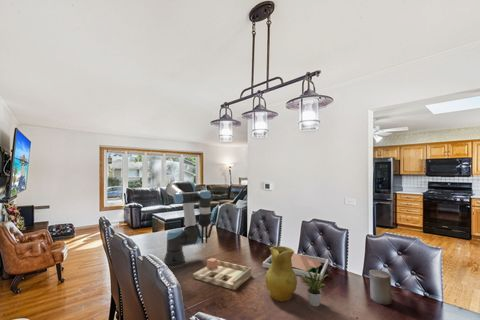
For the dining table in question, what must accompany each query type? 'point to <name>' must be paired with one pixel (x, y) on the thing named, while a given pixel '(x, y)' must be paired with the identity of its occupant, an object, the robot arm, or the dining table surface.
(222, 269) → the cube sorting tray
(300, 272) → the serving tray rim
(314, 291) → the house plant
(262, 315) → the dining table surface
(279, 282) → the pitcher
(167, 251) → the robot arm
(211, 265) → the salmon block
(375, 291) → the pillar candle
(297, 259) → the house
